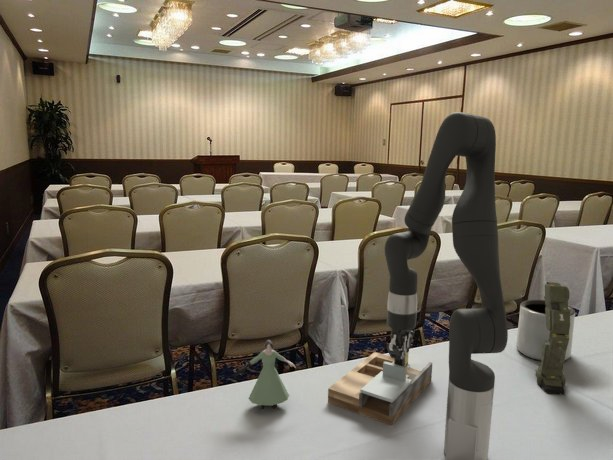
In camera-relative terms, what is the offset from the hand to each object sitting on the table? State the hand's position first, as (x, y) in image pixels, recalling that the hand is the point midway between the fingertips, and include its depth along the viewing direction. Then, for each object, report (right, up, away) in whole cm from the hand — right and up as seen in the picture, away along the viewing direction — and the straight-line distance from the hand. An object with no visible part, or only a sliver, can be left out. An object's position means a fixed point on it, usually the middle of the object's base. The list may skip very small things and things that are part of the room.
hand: (399, 370), depth 132 cm
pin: (+4, -4, +21) cm, 21 cm away
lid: (-4, -3, -6) cm, 7 cm away
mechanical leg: (+44, -6, +9) cm, 46 cm away
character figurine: (-35, -8, -5) cm, 36 cm away
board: (-4, -7, +4) cm, 9 cm away
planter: (+52, -3, +29) cm, 60 cm away
